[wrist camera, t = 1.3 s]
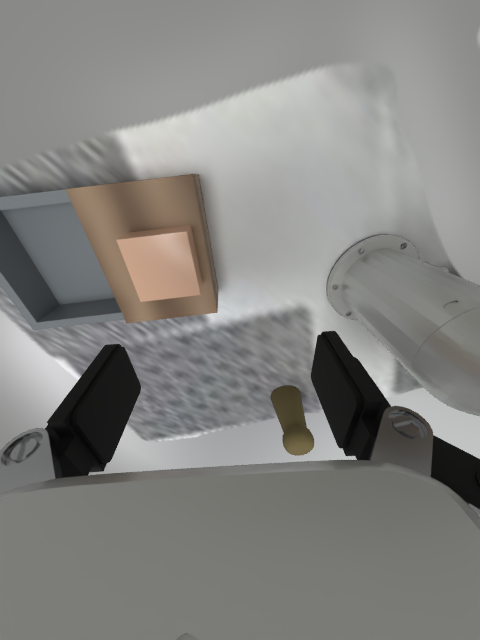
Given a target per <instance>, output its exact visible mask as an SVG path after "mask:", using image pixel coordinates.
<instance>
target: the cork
mask: <svg viewBox="0 0 480 640" xmlns="http://www.w3.org/2000/svg"><path fill="white" fill-rule="evenodd" d="M271 401H272V403H273V406H274V408H275V411H276V414H277V416H278V419H279V422H280V424H281V427H282V429H283V432H284V434H283V445H284V447H285V449H286V450H287V452H288V453H290V454H292V455H304V454H307V453H308V452H310V451H311V450H312V449H313V447H314V438H313V435H312V434H311V432H310V430H309V429H308V428H307V427H306V422H305V416H304V411H303V406H302V401H301V396H300V391H299V390H298V389H297V388H296V387H294V386H281V387H279V388H277V389H275V390H274V391H273V392H272V394H271Z"/></svg>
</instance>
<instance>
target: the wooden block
mask: <svg viewBox="0 0 480 640" xmlns="http://www.w3.org/2000/svg"><path fill="white" fill-rule="evenodd" d="M66 192H67V194H68V196H69V198H70V200H71V203H72V205H73V207H74V209H75V211H76V213H77V216H78V218H79V220H80V222H81V224H82V227H83V229H84V231H85V233H86V235H87V238H88V240H89V242H90V244H91V246H92V248H93V251H94V253H95V255H96V257H97V259H98V262H99V264H100V266H101V268H102V270H103V273H104V275H105V277H106V279H107V281H108V283H109V286H110V288H111V290H112V292H113V294H114V297H115V299H116V301H117V303H118V305H119V308H120V310H121V312H122V314H123V316H124V318H125V321H126V323H133V322H141V321H150V320H158V319H167V318H175V317H183V316H192V315H200V314H209V313H217V308H218V287H217V281H216V275H215V269H214V263H213V257H212V251H211V245H210V239H209V233H208V227H207V221H206V215H205V210H204V204H203V198H202V192H201V186H200V180H199V175H196V174H190V175H181V176H173V177H164V178H156V179H147V180H139V181H130V182H122V183H114V184H105V185H97V186H88V187H80V188H71V189H66ZM187 225H191V228H192V233H193V238H194V243H195V247H196V252H197V257H198V262H199V267H200V272H201V277H202V281H203V284H202V290H201V295H196V296H187V297H179V298H170V299H162V300H153V301H145V302H140V299H139V297H138V294H137V292H136V289H135V287H134V284H133V282H132V279H131V276H130V274H129V271H128V269H127V266H126V264H125V261H124V259H123V256H122V253H121V251H120V248H119V246H118V243H117V241H116V240H117V239H119V238H120V237H122V236H124V235H125V234H127V233H129V232H136V231H145V230H153V229H162V228H170V227H179V226H187Z"/></svg>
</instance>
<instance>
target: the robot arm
mask: <svg viewBox="0 0 480 640" xmlns="http://www.w3.org/2000/svg"><path fill="white" fill-rule="evenodd" d="M327 296H328V300H329V302H330V304H331V306H332V307H333V308H334V309H335V311H336V312H338V313H339V314H340V315H342V316H343V317H346V318H349V319H353V320H360V321H361V322H362V323H363V324H364V325H365V326H366V327H367V328H368V329H369V330H370V331H371V332H372V334H373V335H374V336H375V337H376V338H377V339H378V340H379V341H380V342H381V343H382V344H383V345H384V346H385V347H386V348H387V349H388V350H389V351H390V352H391V353H392V355H393V356H394V357H395V358H396V359H397V360H398V361H399V362H400V363H401V364H402V365H403V366H404V367H405V368H406V369H407V370H408V371H409V372H410V373H411V374H412V375H413V377H414V378H415V379H417V381H418V382H419V383H420V384H421V385H422V386H423V387H424V388H425V389H426V390H427V391H428V392H429V393H430V394H432V395H433V396H434V397H435V398H437V399H438V400H439V401H441V402H443V403H445V404H446V405H448V406H450V407H452V408H455V409H457V410H459V411H463V412H466V413H469V414H473V415H477V416H480V286H479V285H477V284H474V283H472V282H470V281H467V280H465V279H463V278H460V277H458V276H456V275H453V274H451V273H449V270H448V268H447V267H435V266H432V265H430V264H427V263H425V262H423V261H420V257H419V253H418V251H417V249H416V248H415V246H414V245H413V244H412V243H411V242H410V241H408V240H406V239H404V238H402V237H398V236H395V235H377V236H374V237H370V238H367V239H365V240H363V241H361V242H359V243H357V244H356V245H354V246H353V247H351V248H350V249H349V250H348V251H347V252H346V253H344V254H343V255H342V256H341V258H340V259H339V260H338V261H337V263H336V264H335V266H334V268H333V269H332V271H331V273H330V276H329V279H328V284H327ZM311 380H312V383H313V385H314V388H315V390H316V393H317V395H318V398H319V400H320V403H321V405H322V408H323V410H324V413H325V415H326V417H327V420H328V423H329V425H330V428H331V430H332V433H333V435H334V438H335V440H336V443H337V445H338V447H339V448H343V450H344V453H345V455H346V456H356V458H357V460H329V461H306V462H288V463H269V464H254V465H253V464H252V465H236V466H220V467H203V468H187V469H171V470H158V471H143V472H129V473H128V472H127V473H113V474H100V475H90V476H88V474H89V472H99V471H104V468H105V466H106V464H107V463H108V462H110V461H111V459H112V457H113V455H114V452H115V450H116V448H117V445H118V443H119V441H120V438H121V436H122V434H123V431H124V429H125V427H126V424H127V422H128V419H129V417H130V415H131V412H132V410H133V408H134V405H135V403H136V401H137V398H138V396H139V394H140V390H141V385H140V383H139V380H138V378H137V375H136V373H135V371H134V368H133V366H132V364H131V361H130V359H129V357H128V354H127V352H126V349H125V348H124V347H122V346H121V345H120V344H111V345H105V346H104V347H103V349H102V350H101V351H100V353H99V354H98V355H97V357H96V358H95V359H94V360H93V362H92V363H91V364H90V366H89V367H88V368H87V370H86V371H85V372H84V374H83V375H82V376H81V378H80V379H79V380H78V382H77V383H76V384H75V386H74V387H73V388H72V390H71V391H70V392H69V394H68V395H67V396H66V398H65V399H64V400H63V402H62V403H61V404H60V406H59V407H58V408H57V410H56V411H55V412H54V414H53V415H52V416H51V418H50V419H49V420H48V421H47V423H48V426H47V427H46V428H45V429H43V428H35V429H31V430H28V431H26V432H23V433H21V434H20V435H18V436H16V437H15V438H13V439H12V440H11V441H10V442H8V443H7V444H6V445H5V446H4V447H3V448H2V450H1V451H0V640H480V459H478V458H476V457H474V456H473V455H471V454H469V453H467V452H465V451H463V450H461V449H459V448H457V447H455V446H453V445H451V444H449V443H447V442H445V441H443V440H442V439H440V438H438V437H436V436H434V435H433V431H432V429H431V427H430V425H429V423H428V422H427V421H426V420H425V419H424V418H423V417H421V416H420V415H419V414H418V413H416V412H414V411H412V410H410V409H408V408H405V407H400V406H392V407H391V406H390V404H389V403H388V401H387V400H386V398H385V397H384V395H383V394H382V393H381V391H380V390H379V388H378V387H377V386H376V384H375V383H374V381H373V380H372V378H371V377H370V376H369V374H368V373H367V371H366V370H365V369H364V367H363V366H362V364H361V363H360V361H359V360H358V359H357V358H355V357H353V356H352V354H351V353H350V351H349V350H348V349H347V347H346V346H345V344H344V343H343V341H342V340H341V338H340V337H339V335H338V334H337V333H336V332H335V331H326V332H322V333H321V335H318V337H317V343H316V349H315V354H314V360H313V366H312V372H311Z"/></svg>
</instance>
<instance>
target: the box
mask: <svg viewBox="0 0 480 640" xmlns="http://www.w3.org/2000/svg"><path fill="white" fill-rule="evenodd" d="M0 286H1V287H2V289H3V290H4V291H5V293H6V294H7V295H8V297H9V298H10V299H11V301H12V302H13V303H14V305H15V306H16V307H17V309H18V310H19V311H20V313H21V314H22V315H23V317H24V318H25V319H26V321H27V322H28V323H29V325H30V326H31V327H32V329H33V330H39V329H47V328H56V327H64V326H73V325H81V324H90V323H98V322H107V321H115V320H123V319H125V318H124V316H123V314H122V312H121V310H120V308H119V305H118V303H117V301H116V299H115V297H114V294H113V292H112V290H111V288H110V286H109V283H108V281H107V279H106V277H105V275H104V273H103V270H102V268H101V266H100V264H99V262H98V259H97V257H96V255H95V253H94V251H93V248H92V246H91V244H90V242H89V240H88V238H87V235H86V233H85V231H84V229H83V227H82V224H81V222H80V220H79V218H78V216H77V213H76V211H75V209H74V207H73V205H72V203H71V200H70V198H69V196H68V194H67V192H66V189H65V190H56V191H48V192H40V193H31V194H23V195H14V196H6V197H0Z"/></svg>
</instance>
